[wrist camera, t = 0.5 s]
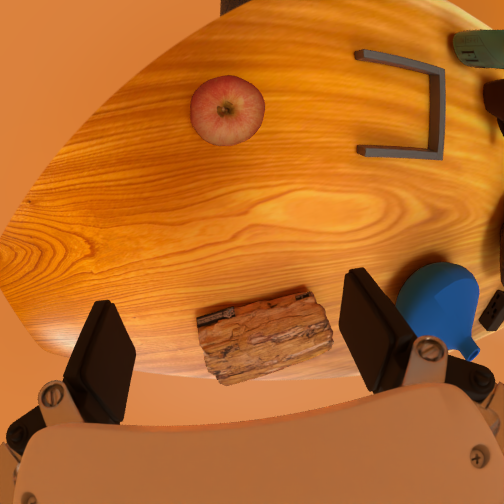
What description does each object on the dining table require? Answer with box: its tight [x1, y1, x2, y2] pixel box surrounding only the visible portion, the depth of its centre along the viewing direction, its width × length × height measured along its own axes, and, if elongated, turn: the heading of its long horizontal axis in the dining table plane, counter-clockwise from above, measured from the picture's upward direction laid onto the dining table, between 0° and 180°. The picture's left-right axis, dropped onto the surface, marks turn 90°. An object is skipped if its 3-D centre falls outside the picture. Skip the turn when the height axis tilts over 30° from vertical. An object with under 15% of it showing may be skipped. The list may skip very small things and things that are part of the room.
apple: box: [190, 75, 265, 146], centre depth 28 cm, size 8×8×8 cm
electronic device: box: [479, 290, 504, 331], centre depth 56 cm, size 7×11×5 cm
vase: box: [395, 262, 480, 361], centre depth 41 cm, size 18×18×19 cm
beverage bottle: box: [453, 29, 504, 69], centre depth 18 cm, size 6×7×20 cm
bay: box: [355, 49, 445, 160], centre depth 31 cm, size 14×14×2 cm
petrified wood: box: [197, 291, 334, 386], centre depth 44 cm, size 19×13×10 cm
